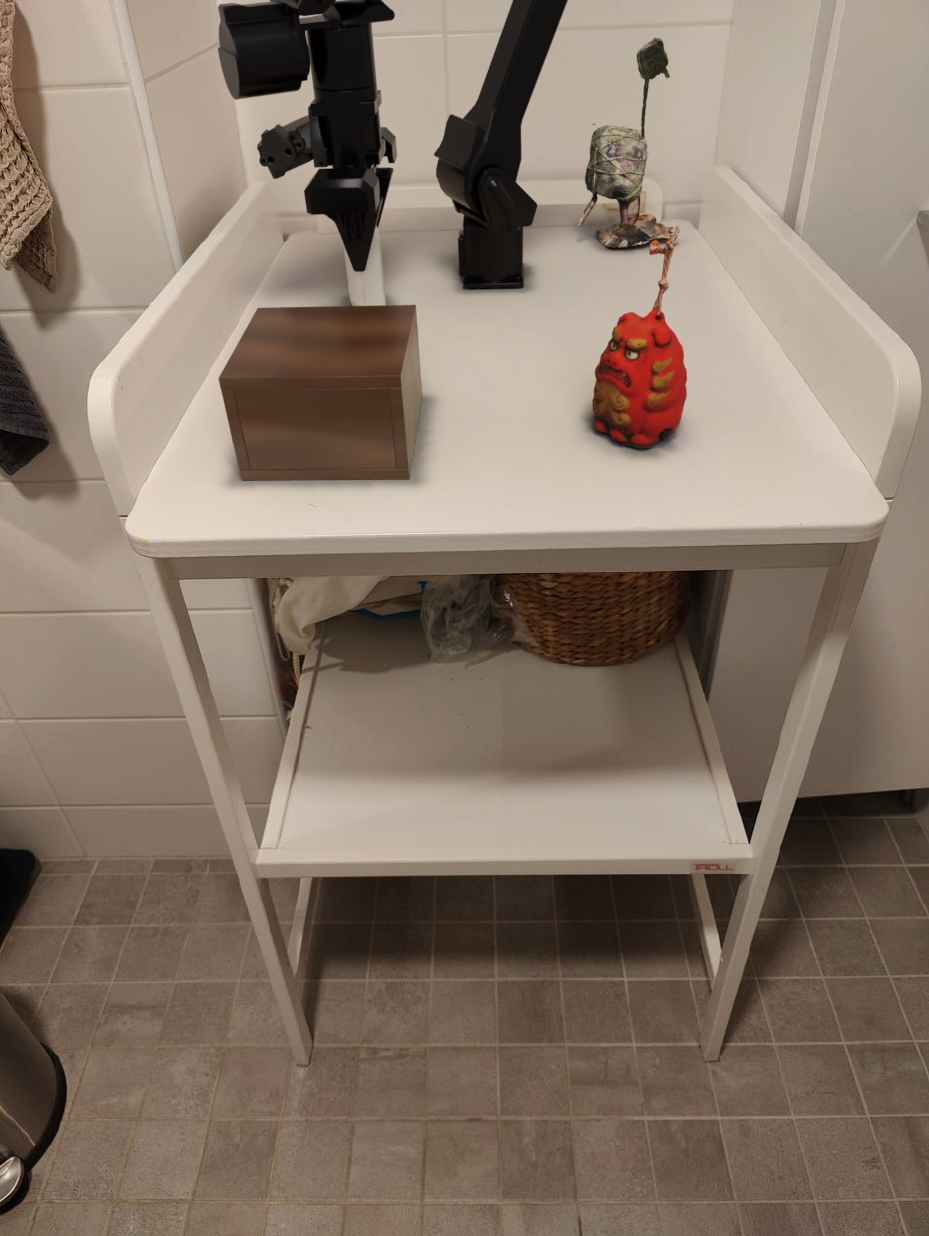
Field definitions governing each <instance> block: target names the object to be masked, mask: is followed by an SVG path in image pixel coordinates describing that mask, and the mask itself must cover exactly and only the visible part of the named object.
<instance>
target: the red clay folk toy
mask: <svg viewBox="0 0 929 1236" xmlns="http://www.w3.org/2000/svg"><path fill="white" fill-rule="evenodd" d="M680 230H681V229H680V226H679V225H678V224H677V225H676V227H675V230H674V231H675V232H674V233H673V237H672V238H671V239H669V238H668V239H667V240H666V242H665V246H664V247H662V246H660V242H659V241H658V239H655V240H652V241H650V243H649V246H650V247H649V253H648V254H649V256H654V255H657V254H660V255H663V263H662V273H661V279H659V280H658V282H657V285H658V287H659V290H658V293H657V297H656V299H655V301H654V304H653V306H652V309H651V311H649V312H648V313H647V314H646V315H645V316H644V317H643V316H640V315H639V314H637V313H636V312H633V311H630V312H629V311H628V312H626V313H624V314H622V315H621V316H620V317H618V321H617V322H616V326H615V327H613V329H612V332H611V338H610V340H608V343H607V345H606V347H605V349H604V350H603V352H602V353H601V355H600V358H599V362H598V364H597V365H596V366H595V370H594V376H595V384H594V386H593V387H594V388H593V398H592V401H591V403H592V405H591V406H592V411H593V420H594V429H595V430H596V431H598V432H601V433H603V434H609V436H610V438H611V439H612V440H613V441H615V442H617V443H619V444H621V445H624V446H628V447H632V448H637V449H649V448H652V446H653V445H654V444H655V443H657V442H658V441H664V440H665V439H667V438H669V437H670V436H671V435H672V434H673V433H674V432H675V430H676V429H677V428H678V427H679V425H680V423H681V419H682V416H683V412H684V407H685V402H686V400H687V395H688V392H687V391H688V390H687V386H686V384H687V381H688V371H687V367H686V366H685V363H684V360H685V353H684V347H683V345H682V343H681V342H680V341H679V339H678V337H677V334H676V333H675V331H673V330H672V329H671V328H670V326H669V325H668V323H667V322H666V316H665V313H664V312H663V311H662V304H663V295H664V293H666V291H667V290H668V289H669V281H668V279H667V276H668V272H669V269H670V264H671V260H672V257H673V254H674V250H675V247H677V246H678V245H679V242H678V241H676V240H677V238H678V236H679V233H680ZM675 241H676V242H675Z"/></svg>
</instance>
